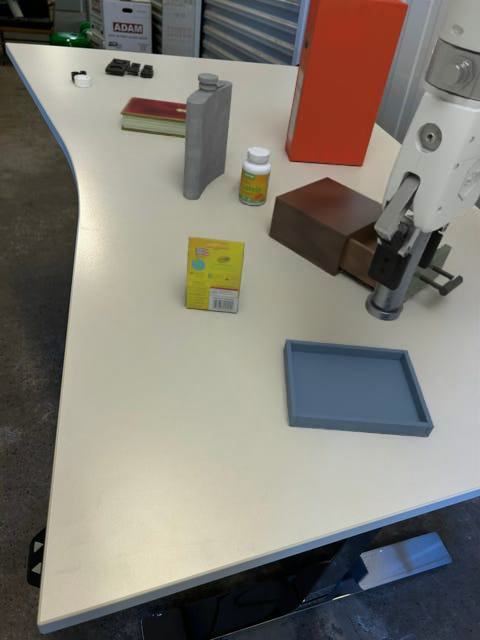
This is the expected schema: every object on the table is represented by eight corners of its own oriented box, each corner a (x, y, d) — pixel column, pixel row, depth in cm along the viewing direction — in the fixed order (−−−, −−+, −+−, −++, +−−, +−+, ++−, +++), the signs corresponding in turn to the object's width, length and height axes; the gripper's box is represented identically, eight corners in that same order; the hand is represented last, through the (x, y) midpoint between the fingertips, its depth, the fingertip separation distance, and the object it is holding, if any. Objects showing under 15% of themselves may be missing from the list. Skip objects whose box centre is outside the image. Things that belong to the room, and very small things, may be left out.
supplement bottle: (236, 203, 92) (242, 154, 85) (240, 191, 96) (246, 143, 89) (264, 208, 91) (271, 159, 85) (267, 195, 96) (275, 148, 89)
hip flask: (195, 201, 91) (201, 89, 77) (176, 195, 91) (178, 83, 78) (226, 170, 102) (236, 68, 89) (209, 165, 103) (216, 63, 90)
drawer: (464, 291, 77) (480, 261, 73) (424, 324, 69) (440, 292, 65) (370, 239, 85) (380, 210, 82) (326, 263, 78) (335, 233, 74)
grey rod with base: (410, 309, 52) (449, 223, 45) (384, 329, 49) (421, 240, 42) (380, 291, 53) (413, 206, 46) (353, 309, 50) (385, 221, 43)
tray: (402, 360, 64) (407, 350, 63) (427, 437, 55) (434, 426, 54) (283, 349, 63) (285, 339, 62) (289, 426, 54) (292, 415, 53)
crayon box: (238, 300, 70) (247, 231, 62) (237, 314, 68) (247, 244, 60) (187, 295, 70) (190, 225, 62) (184, 308, 67) (188, 237, 60)
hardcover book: (132, 112, 121) (131, 94, 118) (214, 123, 122) (216, 106, 119) (121, 129, 112) (120, 111, 109) (210, 141, 113) (211, 123, 110)
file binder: (284, 147, 115) (312, -13, 94) (353, 152, 118) (395, -2, 96) (289, 161, 109) (321, -6, 88) (362, 166, 112) (409, 5, 91)
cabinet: (381, 248, 85) (395, 210, 80) (334, 276, 77) (346, 236, 72) (318, 213, 92) (327, 176, 87) (268, 235, 84) (275, 196, 79)
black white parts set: (68, 88, 131) (67, 75, 129) (91, 60, 149) (90, 48, 146) (142, 100, 133) (142, 87, 130) (156, 70, 150) (156, 58, 148)
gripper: (476, 107, 29) (383, 327, 41) (567, 76, 39) (470, 261, 51) (374, 72, 33) (315, 283, 45) (480, 52, 42) (409, 230, 54)
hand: (398, 270), depth 48 cm, fingers closed on grey rod with base, 5 cm apart
